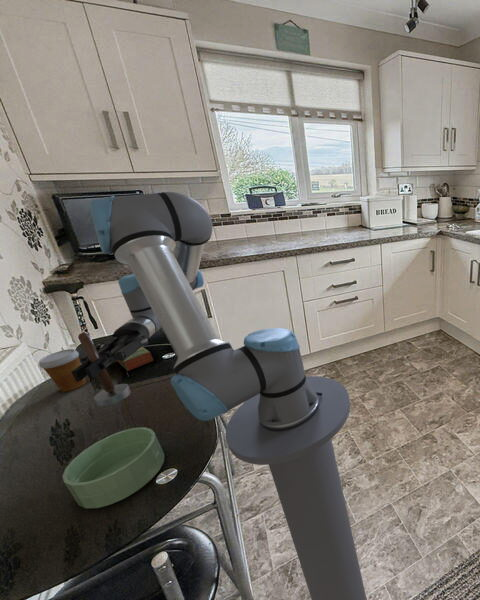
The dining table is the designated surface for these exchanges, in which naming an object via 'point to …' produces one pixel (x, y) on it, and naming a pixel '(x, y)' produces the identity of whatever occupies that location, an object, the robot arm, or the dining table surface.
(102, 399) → the wooden peg on disc
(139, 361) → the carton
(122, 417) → the dining table surface
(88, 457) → the bowl
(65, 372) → the disposable coffee cup
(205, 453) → the dining table surface
